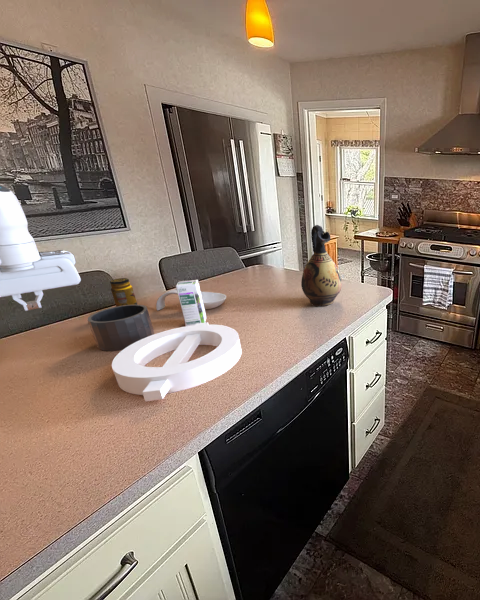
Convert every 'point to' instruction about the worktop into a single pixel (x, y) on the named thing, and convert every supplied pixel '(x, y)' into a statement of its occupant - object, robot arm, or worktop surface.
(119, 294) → the condiment
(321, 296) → the ceramic jug
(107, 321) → the pot
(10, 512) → the worktop surface
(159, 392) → the white circle with bar
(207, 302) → the spoon rest
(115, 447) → the worktop surface
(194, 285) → the syrup box
